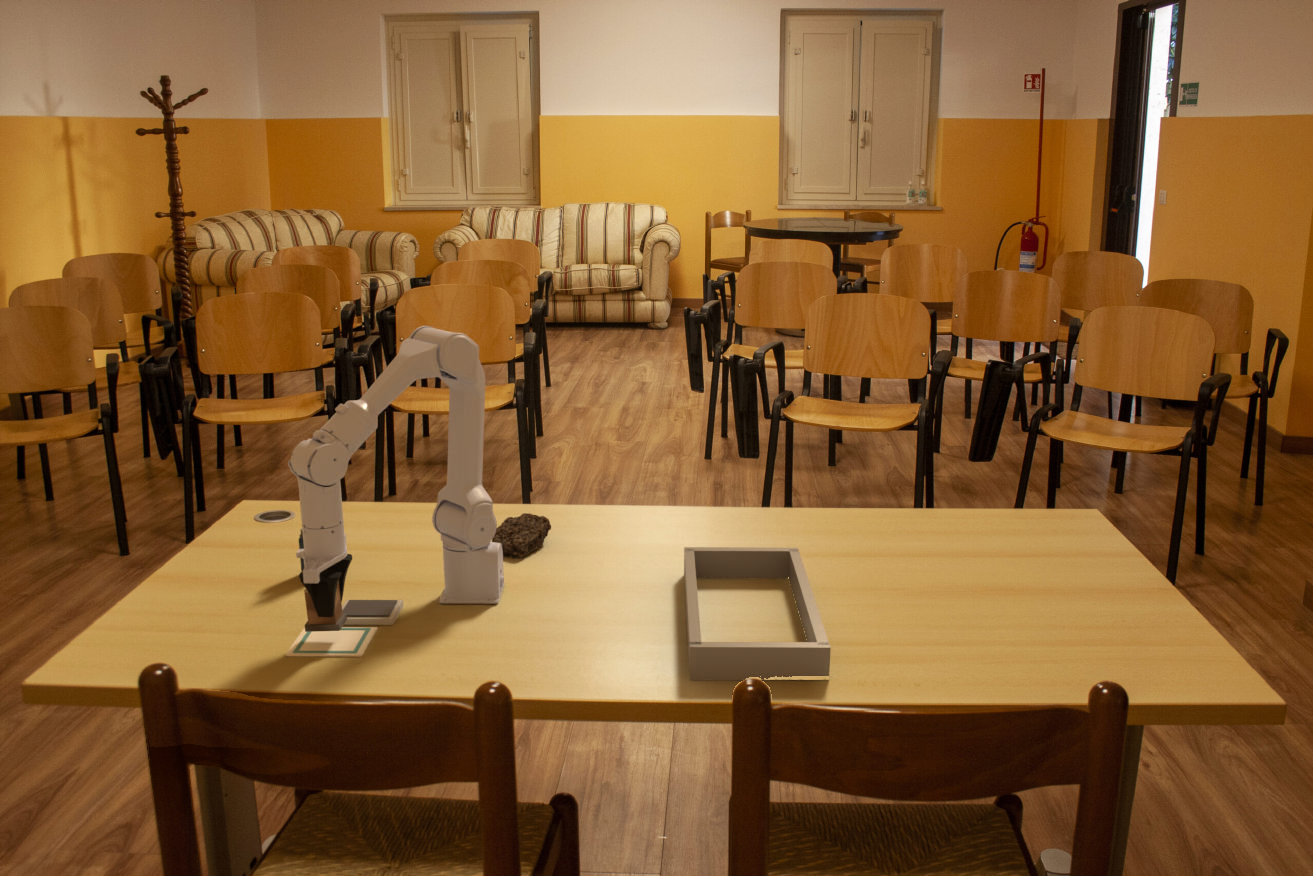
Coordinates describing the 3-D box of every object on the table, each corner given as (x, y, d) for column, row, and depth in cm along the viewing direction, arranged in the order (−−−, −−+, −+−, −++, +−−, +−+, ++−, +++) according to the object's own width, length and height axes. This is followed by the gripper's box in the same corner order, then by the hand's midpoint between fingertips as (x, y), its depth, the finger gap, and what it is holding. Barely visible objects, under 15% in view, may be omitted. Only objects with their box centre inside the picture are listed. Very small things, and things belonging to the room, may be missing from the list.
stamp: (347, 619, 164) (342, 579, 162) (339, 630, 160) (334, 590, 158) (313, 619, 164) (308, 580, 162) (305, 631, 160) (300, 591, 158)
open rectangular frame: (796, 575, 187) (797, 547, 186) (828, 680, 152) (830, 647, 150) (684, 574, 187) (684, 547, 186) (689, 680, 152) (690, 647, 150)
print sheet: (377, 629, 167) (377, 626, 167) (362, 656, 158) (361, 654, 158) (305, 628, 167) (304, 626, 167) (285, 656, 158) (285, 653, 158)
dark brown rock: (519, 532, 207) (518, 506, 206) (560, 543, 202) (560, 517, 200) (476, 550, 198) (475, 524, 197) (518, 562, 193) (517, 535, 191)
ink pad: (403, 605, 175) (402, 598, 175) (393, 624, 168) (392, 617, 168) (346, 605, 175) (346, 598, 175) (334, 624, 168) (333, 616, 168)
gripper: (310, 505, 164) (317, 589, 168) (277, 540, 150) (286, 631, 154) (357, 505, 164) (363, 590, 168) (329, 540, 150) (336, 631, 154)
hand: (329, 610), depth 161 cm, fingers closed on stamp, 3 cm apart
